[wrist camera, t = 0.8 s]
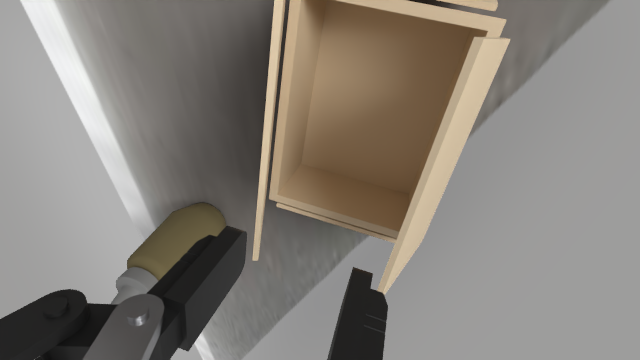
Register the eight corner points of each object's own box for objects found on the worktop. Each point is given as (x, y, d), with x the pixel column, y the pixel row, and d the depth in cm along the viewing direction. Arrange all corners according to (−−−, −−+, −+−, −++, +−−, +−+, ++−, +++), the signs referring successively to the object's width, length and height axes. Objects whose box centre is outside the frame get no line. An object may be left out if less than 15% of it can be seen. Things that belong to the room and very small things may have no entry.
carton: (326, -44, 28) (296, -62, 21) (496, -14, 26) (524, -23, 19) (293, 181, 40) (266, 217, 33) (407, 215, 37) (405, 260, 31)
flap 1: (280, -8, 22) (274, -4, 15) (286, -7, 22) (283, -3, 15) (262, 191, 31) (252, 260, 23) (266, 192, 31) (258, 260, 23)
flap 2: (503, 37, 20) (474, 36, 13) (510, 39, 20) (483, 38, 13) (418, 238, 29) (373, 299, 22) (422, 240, 28) (378, 303, 22)
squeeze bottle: (241, 216, 45) (148, 324, 29) (223, 250, 49) (133, 360, 33) (192, 184, 44) (73, 276, 29) (178, 221, 48) (66, 318, 33)
